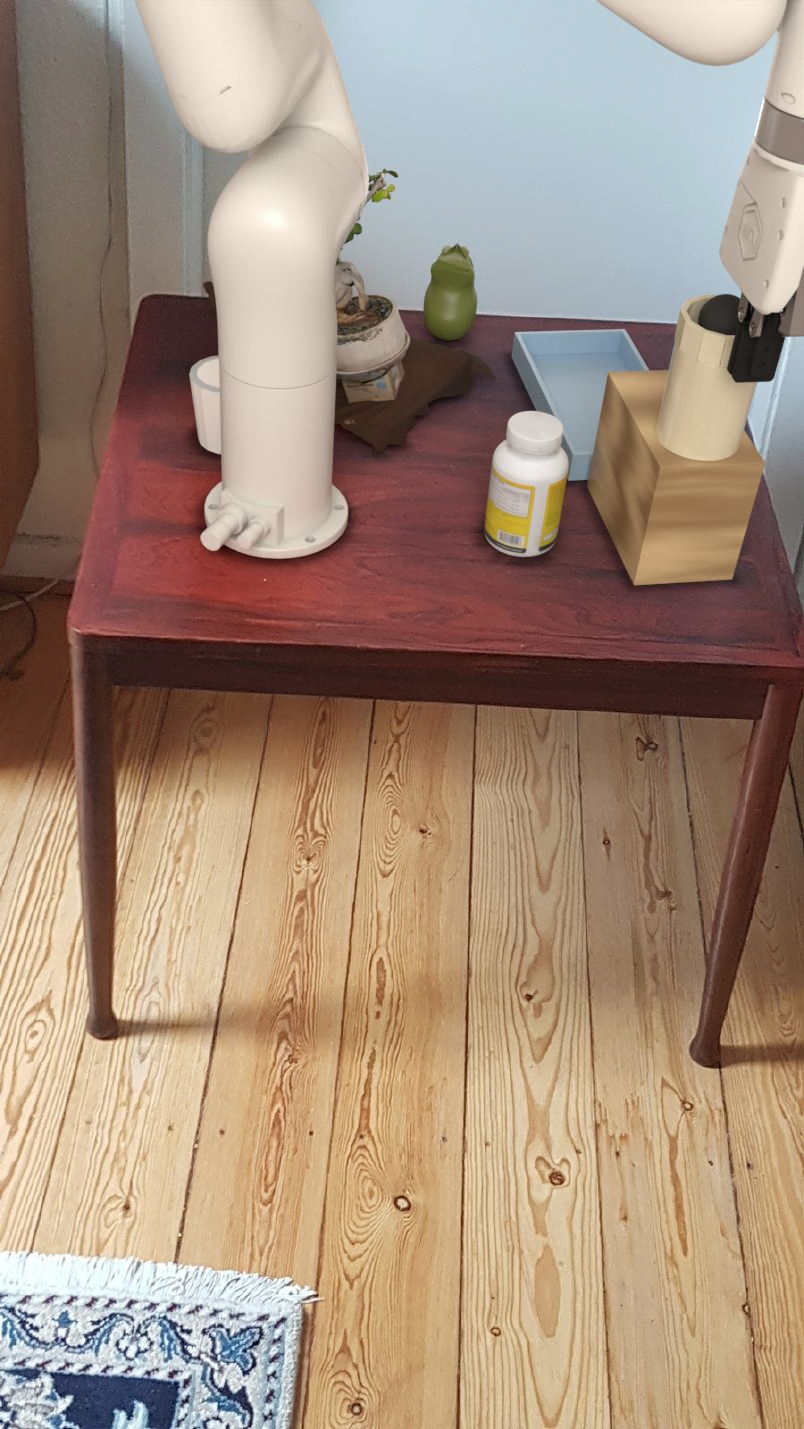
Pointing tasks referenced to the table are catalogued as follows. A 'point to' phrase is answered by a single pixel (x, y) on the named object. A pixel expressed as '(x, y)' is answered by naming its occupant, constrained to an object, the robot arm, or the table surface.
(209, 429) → the shot glass
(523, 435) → the pill bottle
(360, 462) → the table surface
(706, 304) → the ball
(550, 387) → the tray
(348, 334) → the potted plant
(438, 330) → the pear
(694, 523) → the plinth
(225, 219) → the robot arm
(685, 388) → the jar
